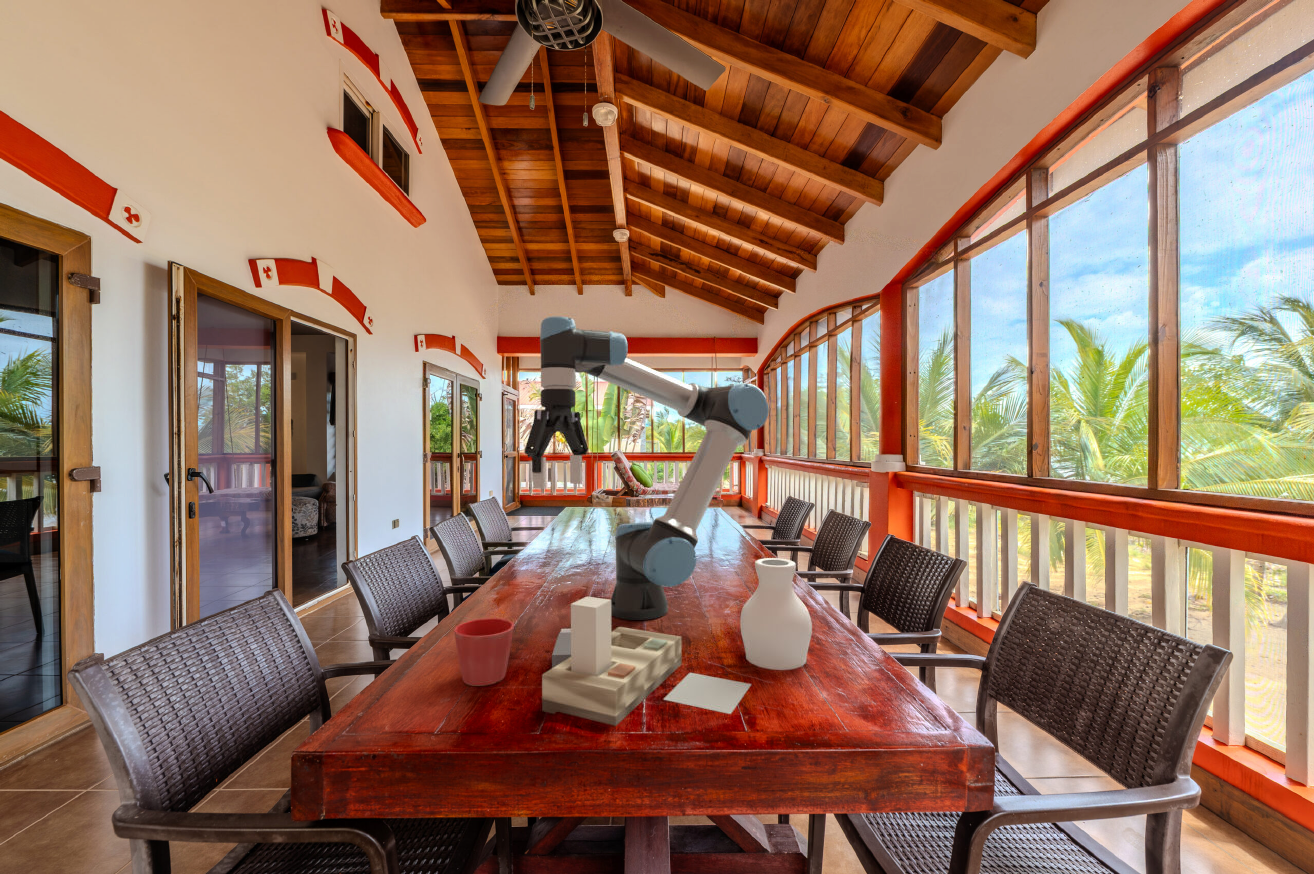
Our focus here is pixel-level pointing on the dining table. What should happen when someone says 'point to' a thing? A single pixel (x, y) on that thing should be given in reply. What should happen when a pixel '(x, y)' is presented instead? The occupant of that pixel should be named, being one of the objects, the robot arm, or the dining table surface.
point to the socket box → (614, 677)
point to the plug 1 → (562, 647)
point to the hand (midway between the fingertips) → (558, 486)
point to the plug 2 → (591, 636)
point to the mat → (708, 692)
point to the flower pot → (483, 650)
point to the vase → (775, 619)
